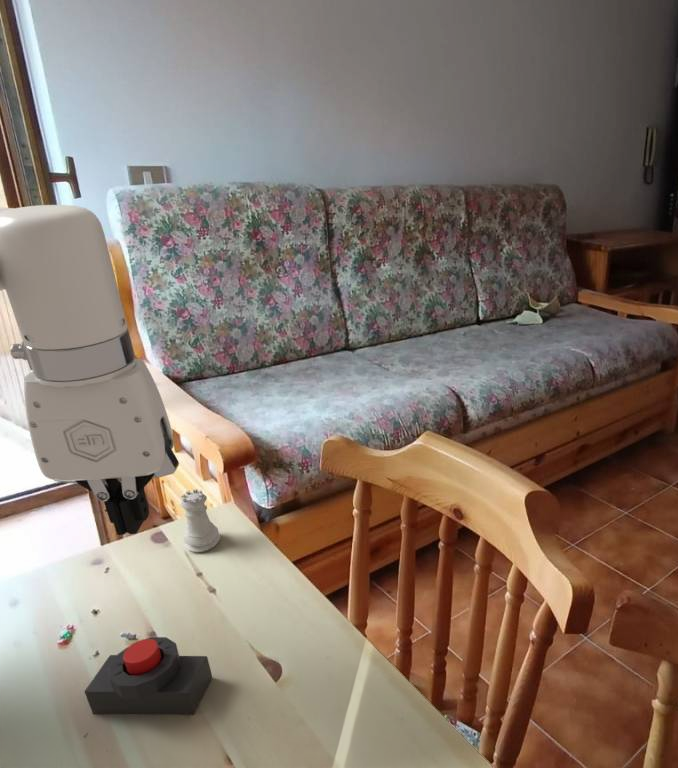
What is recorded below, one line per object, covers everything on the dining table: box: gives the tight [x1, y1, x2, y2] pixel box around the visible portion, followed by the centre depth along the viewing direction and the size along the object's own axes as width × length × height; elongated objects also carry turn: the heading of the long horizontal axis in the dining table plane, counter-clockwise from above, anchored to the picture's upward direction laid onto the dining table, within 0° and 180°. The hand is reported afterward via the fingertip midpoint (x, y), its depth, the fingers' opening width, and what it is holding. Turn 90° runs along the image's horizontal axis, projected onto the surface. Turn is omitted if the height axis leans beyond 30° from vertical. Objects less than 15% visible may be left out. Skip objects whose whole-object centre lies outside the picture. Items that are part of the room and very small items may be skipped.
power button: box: [123, 638, 161, 675], centre depth 62 cm, size 3×3×2 cm
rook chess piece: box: [179, 488, 221, 554], centre depth 84 cm, size 4×4×8 cm
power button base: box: [84, 636, 213, 716], centre depth 63 cm, size 10×6×5 cm, turn 90°
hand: (132, 525), depth 62 cm, fingers closed
